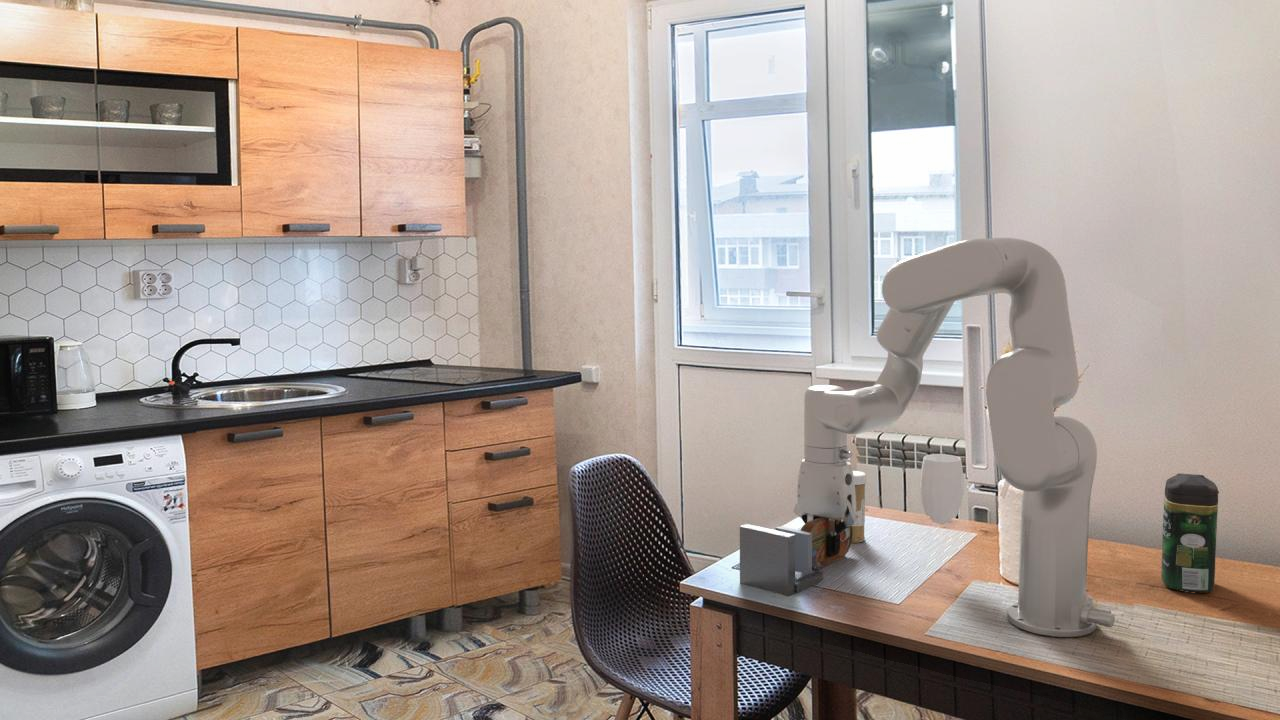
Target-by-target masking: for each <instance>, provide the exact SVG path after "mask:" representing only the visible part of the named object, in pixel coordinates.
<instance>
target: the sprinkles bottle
mask: <svg viewBox="0 0 1280 720" xmlns="http://www.w3.org/2000/svg"><path fill="white" fill-rule="evenodd" d="M852 471H853V476H854V483H855V496H856V512H855V515H856V518H857V520H858V523H857V524H855V525H852V532H853V533H852V542H851V544H852V543H853V544H857V543H859V544H860V543H862V542H865V540H866V539H865V538H866V537H865V524H866V523H865V521H866V519H865V518H866V514H865V513H866V483H867V475H866V472H863V471H859V470H852Z"/></svg>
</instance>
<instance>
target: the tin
mask: <svg viewBox="0 0 1280 720" xmlns="http://www.w3.org/2000/svg"><path fill="white" fill-rule="evenodd" d="M845 520H846V516H845V515H844V518H843V521H845ZM799 530H800V531H804V532H809V533H812V569H813V568H814V569H816V570H819V569H822V568H825V567H827V566H829V565H830V564H832V563H835V562H837V561H839V560H841V559H843V558H844V557H845V556H846V555H847V554H848V552H849V550H850V548H851V545H852V543H851V542H852V533H853V532H852V526H849V527H847V528H846V529H845V530H844V531H843V532H842V533H840V551H839V554H837V555H835V556H833V557H828V556H827V536H828V535H830V533H829V518H824V517H819V518H817V519H814V520H812V521H809V522H807V523H806V524H805V523H803V526H802V527H801V529H799Z"/></svg>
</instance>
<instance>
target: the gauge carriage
mask: <svg viewBox="0 0 1280 720" xmlns="http://www.w3.org/2000/svg"><path fill="white" fill-rule="evenodd" d="M774 530H777V531H782V532H786V533H791V534H795V572H798V573H802V574H806V575H808V574H810V573H812V572H813V567H812V533H809V532H804V531H800V530H801V529H794V528H789V527H786V526H785V527H784V526H781V525H779V526H777V527H775V528H774Z"/></svg>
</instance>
